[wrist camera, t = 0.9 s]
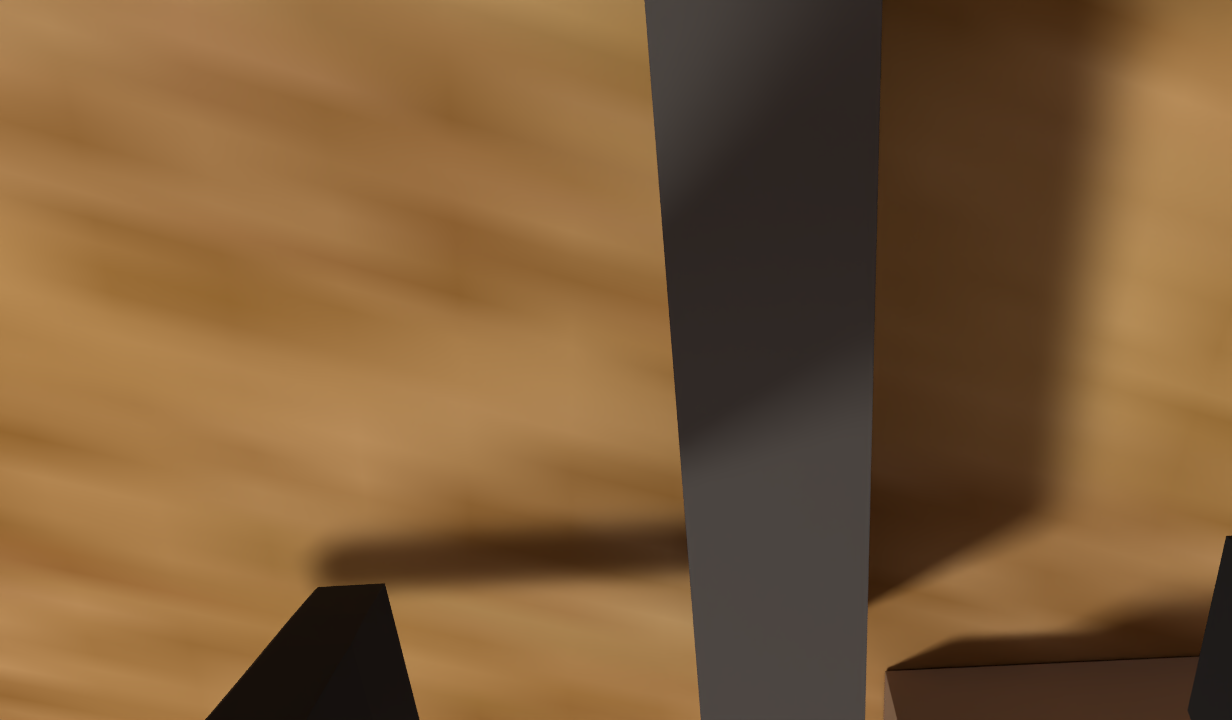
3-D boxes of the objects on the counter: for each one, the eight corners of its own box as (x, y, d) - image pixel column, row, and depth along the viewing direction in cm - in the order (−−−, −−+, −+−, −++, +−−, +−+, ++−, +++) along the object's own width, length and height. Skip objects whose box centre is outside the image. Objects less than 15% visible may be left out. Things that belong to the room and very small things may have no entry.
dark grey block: (808, -281, 13) (889, -280, 8) (814, 633, 20) (860, 891, 15) (-106, -183, 14) (-464, -136, 9) (209, 662, 20) (89, 916, 16)
